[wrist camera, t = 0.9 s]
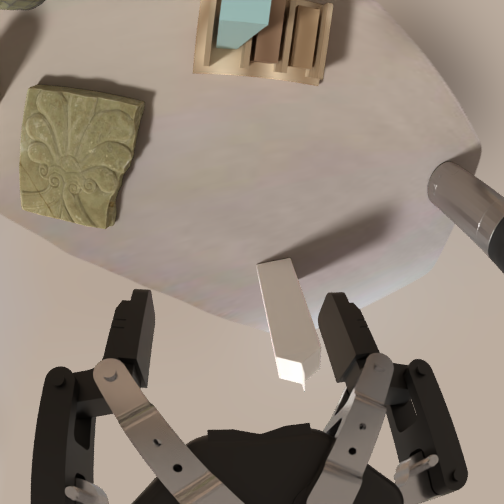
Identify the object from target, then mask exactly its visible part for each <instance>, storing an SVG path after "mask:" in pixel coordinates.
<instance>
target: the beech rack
mask: <svg viewBox="0 0 504 504" xmlns="http://www.w3.org/2000/svg"><path fill="white" fill-rule="evenodd" d="M221 2H222V0H201V2H200V10H199V18H198V26H197V35H196V44H195V54H194V65H193V73H196V74H224V75H239V76H250V77H260V78H269V79H277V80H284V81H291V82H297V83H303V84H309V85H314V86H318V85H319V79H322V80H323V74H324V67H325V61H326V54H327V47H328V40H329V33H330V26H331V18H332V10H333V4H332V3H326V4H324V5H322V4H318V3H314V2H310V1H305V0H286V4H285V11H284V19H283V26H282V34H281V42H280V49H279V57H278V63H276V64H267V63H258V62H249V60H250V52H251V44H252V38H250V39H249V40H248V41H246V42H245V43H244V44H243V45H242V46H240V47H239V48H238V49H223V48H216V45H217V35H218V26H219V17H220V10H221ZM298 5H301V6H306V7H310V8H315V9H319V10H320V12H319V20H318V28H317V35H316V42H315V49H314V56H313V63H312V69H300V68H295V67H288V61H289V53H290V46H291V39H292V31H293V24H294V16H295V9H296V6H298Z"/></svg>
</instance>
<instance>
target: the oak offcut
mask: <svg viewBox="0 0 504 504" xmlns="http://www.w3.org/2000/svg"><path fill="white" fill-rule="evenodd" d="M319 12H320V10H319V9H315V8H310V7H306V6H301V5H298V6H296V9H295V16H294V24H293V31H292V39H291V46H290V53H289V61H288V67H295V68H300V69H312V63H313V56H314V49H315V42H316V35H317V28H318V20H319Z"/></svg>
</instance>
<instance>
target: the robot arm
mask: <svg viewBox="0 0 504 504" xmlns="http://www.w3.org/2000/svg"><path fill="white" fill-rule="evenodd" d="M428 196H429V199H430V201H431V202H432V203H433V204H434V205H435V206H436V207H438V208H439V209H440V210H441V211H442V212H443V213H444V214H445V215H446V216H447V217H449V218H450V219H451V220H452V221H453V222H454V223H455V224H456V225H457V226H458V227H459V228H460V229H461V230H462V231H463V232H465V233H466V234H467V235H468V236H469V237H470V238H471V239H472V240H473V241H474V242H475V243H476V244H477V245H478V246H479V247H480V248H481V249H482V250H483V251H484V253H485V254H486V255H487V256H488V257H489V258H490V259H491V260H492V261H493V262H494V263H495V264H496V265H497V266H498V268H499V269H500V270H501V271H502V272H503V273H504V197H503V196H501V195H500V194H499V193H497V192H496V191H495V190H493V189H492V188H491V187H489V186H488V185H486V184H485V183H484V182H482V181H481V180H479V179H478V178H476V177H475V176H474V175H472V174H471V173H469V172H468V171H466V170H465V169H463V168H462V167H460V166H458V165H457V164H455V163H453V162H445V163H443V164H441V165H440V166H439V167H437V168H436V170H435V171H434V172H433V174H432V176H431V178H430V180H429V184H428ZM318 325H319V329H320V332H321V335H322V338H323V341H324V344H325V347H326V350H327V353H328V356H329V359H330V362H331V366H332V369H333V372H334V375H335V378H336V382H337V383H339V382H345V383H346V387H345V389H344V391H343V394H342V396H341V398H340V400H339V402H338V405H337V407H336V409H335V411H334V413H333V415H332V417H331V419H330V421H329V422H328V424H327V425H326V427H325V429H324V430H323V431H320V430H316V429H311V428H310V424H309V423H305V424H297V425H289V426H284V427H281V428H278V429H275V430H272V431H269V432H266V433H263V434H256V433H250V432H244V431H239V430H233V429H232V430H208V435H206V436H202V437H199V438H196V439H194V440H192V441H190V442H189V443H187V444H186V445H185V444H184V442H182V440H181V439H180V438H179V437H178V435H177V434H176V433H175V432H174V431H173V429H172V428H171V427H170V426H169V424H168V423H167V422H166V421H165V419H164V418H163V417H162V415H161V414H160V413H159V411H158V410H157V409H156V408H155V406H154V405H152V404H151V403H150V402H149V401H148V399H147V398H146V397H145V395H144V394H143V392H142V391H141V389H140V387H142V388H147V384H148V375H149V366H150V357H151V349H152V341H153V334H154V327H155V312H154V306H153V300H152V294H151V290H142V289H134V290H133V294H132V297H131V301H126V300H122V302H121V303H120V304H119V305H118V307H117V308H116V310H115V314H114V317H113V321H112V325H111V329H110V332H109V336H108V341H107V345H106V348H105V353H104V357H103V359H102V361H100V362H99V363H98V364H97V365H96V366H95V368H93V369H90V370H87V371H81V372H75V373H72V372H71V370H69V369H68V368H66V367H56V368H53V369H52V370H50V371H49V373H48V374H47V375H46V378H45V382H44V386H43V391H42V396H41V401H40V407H39V413H38V418H37V425H36V432H35V440H34V449H33V459H32V474H31V504H109V502H108V498H107V495H106V494H105V492H104V491H103V490H102V489H101V488H100V487H98V486H97V485H94V484H93V466H94V465H93V464H94V438H95V423H96V417H97V416H102V415H107V414H114V415H115V417H116V418H117V420H118V422H119V424H120V426H121V427H122V429H123V430H124V432H125V434H126V435H127V436H128V438H129V439H130V441H131V442H132V443H133V445H134V447H135V448H136V449H137V451H138V452H139V453H140V455H141V456H142V458H143V459H144V460H145V462H146V463H147V464H148V466H149V467H150V468H151V469H152V471H153V472H154V473H155V474H156V476H157V477H156V478H155V479H154V480H153V481H152V482H151V483H150V484H149V486H148V487H147V488H146V489H145V490H144V491H143V492H142V493H141V494H140V495H139V496H138V498H137V499H136V500H135V501H134V502H133V503H132V504H419V503H422V502H425V501H428V500H431V499H435V498H437V497H440V496H443V495H446V494H449V493H451V492H454V491H456V490H459V489H460V488H462V487H463V486H464V485H465V483H466V481H467V477H468V471H467V467H466V463H465V460H464V456H463V453H462V450H461V447H460V443H459V440H458V437H457V434H456V431H455V428H454V425H453V422H452V419H451V417H450V414H449V411H448V408H447V406H446V403H445V401H444V398H443V395H442V393H441V391H440V388H439V385H438V383H437V381H436V378H435V376H434V373H433V371H432V369H431V367H430V365H429V364H428V363H427V362H425V361H424V360H421V359H415V360H413V361H412V362H411V363H410V364H409V365H402V364H396V363H392V361H391V360H390V358H389V357H388V356H386V355H384V354H382V353H380V352H379V350H378V348H377V345H376V344H375V341H374V339H373V337H372V334H371V332H370V330H369V328H368V325H367V323H366V321H364V317H363V315H362V313H361V311H360V309H359V308H358V307H357V306H356V305H355V304H354V303H349V301H348V299H347V297H346V295H345V293H343V292H338V293H328V294H327V295H326V298H325V300H324V303H323V305H322V308H321V310H320V313H319V316H318ZM411 399H412V401H411ZM412 402H413V404H412ZM413 405H414V407H413ZM414 408H415V410H414ZM415 411H416V413H415ZM385 414H387V418H388V421H389V424H390V428H391V432H392V435H393V439H394V443H395V447H396V450H397V455H398V459H399V463H400V464H399V465H398V466H397V469H396V473H395V475H394V479H395V481H396V482H395V483H393V482H392V481H390V480H389V479H388V478H386V477H385V476H383V475H382V474H381V473H379V472H378V471H377V470H375V469H374V468H372V467H371V466H370V465H369V464H367V463H368V461H369V459H370V456H371V453H372V451H373V448H374V446H375V443H376V440H377V438H378V435H379V432H380V429H381V426H382V423H383V420H384V417H385ZM416 414H417V416H416Z"/></svg>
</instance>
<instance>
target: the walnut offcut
mask: <svg viewBox="0 0 504 504" xmlns="http://www.w3.org/2000/svg"><path fill="white" fill-rule="evenodd" d="M285 4H286V0H271V7H270V15H269V22H268V25H267V26H266V27H265V28H263V29H262V30H261V31H259V32H258V33H257V34H255V35H254V36H253V37H252V44H251V52H250V60H249V62H258V63H267V64H276V63H278V57H279V49H280V42H281V34H282V26H283V19H284V11H285Z"/></svg>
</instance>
